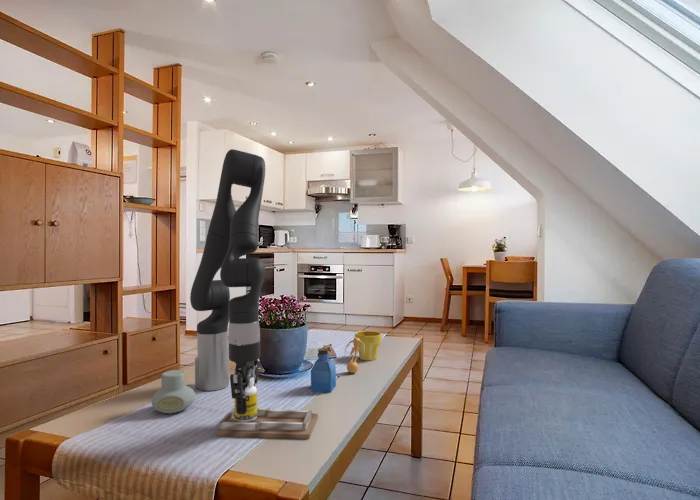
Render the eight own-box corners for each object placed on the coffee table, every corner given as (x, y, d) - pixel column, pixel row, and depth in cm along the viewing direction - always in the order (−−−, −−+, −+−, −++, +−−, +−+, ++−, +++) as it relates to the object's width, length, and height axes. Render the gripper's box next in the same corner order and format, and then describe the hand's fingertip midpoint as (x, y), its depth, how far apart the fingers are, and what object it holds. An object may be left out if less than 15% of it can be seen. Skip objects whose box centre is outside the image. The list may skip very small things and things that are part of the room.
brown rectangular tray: (215, 436, 100) (215, 425, 99) (234, 415, 111) (234, 405, 111) (309, 438, 97) (309, 427, 97) (318, 417, 109) (317, 407, 109)
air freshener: (197, 402, 121) (197, 367, 121) (192, 413, 113) (191, 376, 113) (156, 405, 119) (156, 369, 119) (148, 417, 111) (147, 378, 111)
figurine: (339, 372, 148) (338, 337, 148) (349, 368, 153) (349, 334, 152) (359, 376, 143) (358, 340, 143) (369, 372, 148) (368, 337, 147)
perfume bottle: (331, 392, 128) (330, 352, 128) (311, 391, 129) (310, 351, 129) (335, 385, 134) (335, 347, 134) (316, 384, 135) (316, 346, 135)
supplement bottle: (237, 424, 101) (236, 383, 101) (232, 416, 106) (231, 377, 106) (260, 420, 104) (259, 380, 104) (254, 412, 109) (253, 374, 109)
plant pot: (386, 357, 167) (386, 331, 167) (373, 363, 158) (373, 337, 158) (363, 353, 172) (363, 329, 172) (350, 359, 164) (349, 334, 163)
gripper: (239, 333, 112) (240, 397, 113) (217, 346, 98) (219, 420, 98) (267, 333, 112) (268, 398, 112) (249, 346, 97) (251, 421, 98)
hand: (245, 408), depth 105 cm, fingers closed on supplement bottle, 5 cm apart
